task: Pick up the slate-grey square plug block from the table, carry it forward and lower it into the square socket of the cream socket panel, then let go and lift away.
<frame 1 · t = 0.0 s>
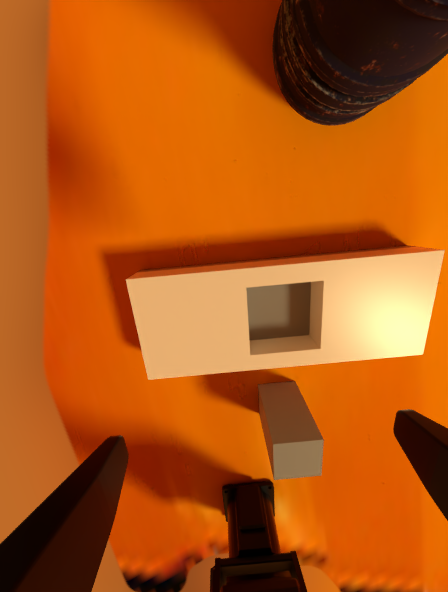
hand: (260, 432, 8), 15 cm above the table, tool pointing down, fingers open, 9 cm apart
cream socket panel: (274, 304, 22), on the table
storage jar: (339, 46, 16), on the table
plug: (276, 397, 25), on the table
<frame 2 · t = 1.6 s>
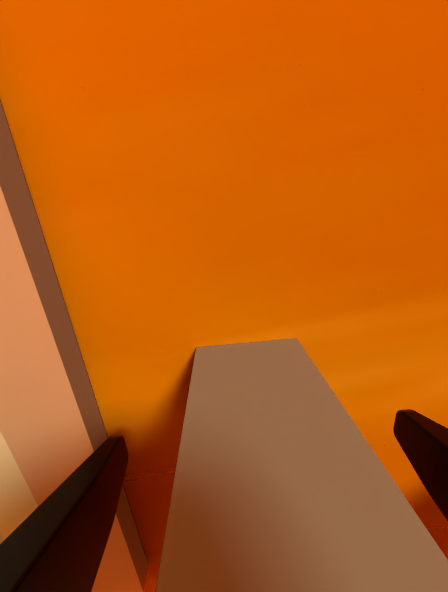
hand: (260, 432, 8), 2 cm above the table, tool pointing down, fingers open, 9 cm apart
plug: (248, 384, 10), on the table
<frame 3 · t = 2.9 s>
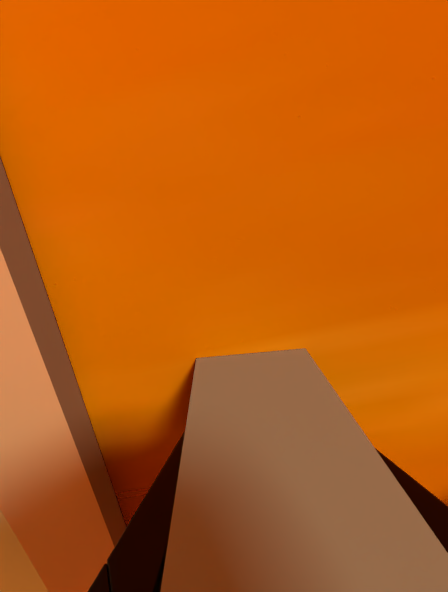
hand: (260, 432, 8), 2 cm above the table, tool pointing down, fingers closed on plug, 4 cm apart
plug: (253, 397, 9), on the table, touching gripper
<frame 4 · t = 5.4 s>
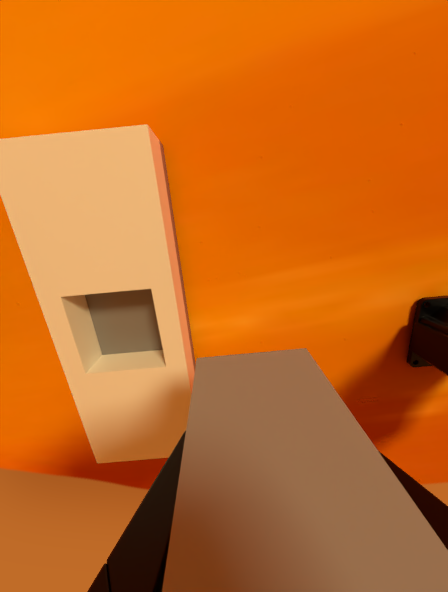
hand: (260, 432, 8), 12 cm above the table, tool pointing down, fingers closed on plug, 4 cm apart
cream socket panel: (134, 314, 19), on the table
plug: (253, 397, 9), point 11 cm above the table, touching gripper
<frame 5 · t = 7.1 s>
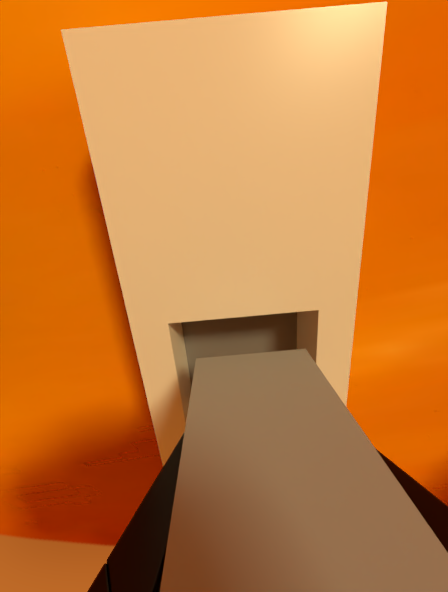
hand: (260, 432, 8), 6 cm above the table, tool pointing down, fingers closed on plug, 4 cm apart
cream socket panel: (239, 340, 13), on the table
plug: (253, 398, 9), point 5 cm above the table, touching gripper
when the fingers open (4 cm above the table, at t = 8.2 s): plug drops 1 cm, resting on cream socket panel.
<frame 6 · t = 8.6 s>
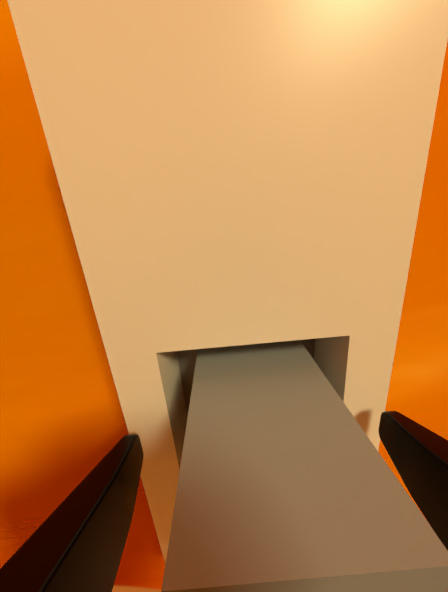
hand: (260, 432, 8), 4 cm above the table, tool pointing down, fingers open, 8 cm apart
cream socket panel: (245, 361, 11), on the table
plug: (248, 374, 10), point 1 cm above the table, touching cream socket panel
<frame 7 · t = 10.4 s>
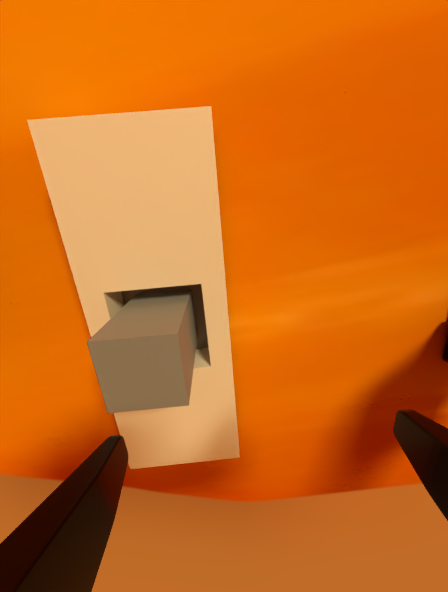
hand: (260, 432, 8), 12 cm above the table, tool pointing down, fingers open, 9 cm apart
cream socket panel: (170, 311, 18), on the table
plug: (168, 316, 17), point 1 cm above the table, touching cream socket panel
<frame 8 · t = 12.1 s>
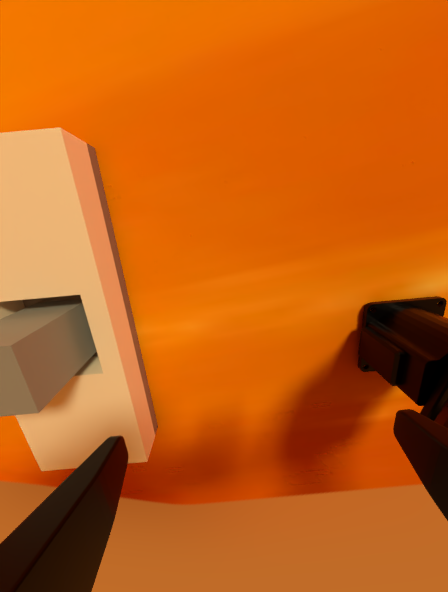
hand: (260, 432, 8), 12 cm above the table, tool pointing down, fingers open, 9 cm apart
cream socket panel: (78, 319, 19), on the table
plug: (71, 324, 18), point 1 cm above the table, touching cream socket panel
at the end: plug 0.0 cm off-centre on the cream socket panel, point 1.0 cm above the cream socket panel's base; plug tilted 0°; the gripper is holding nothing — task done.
